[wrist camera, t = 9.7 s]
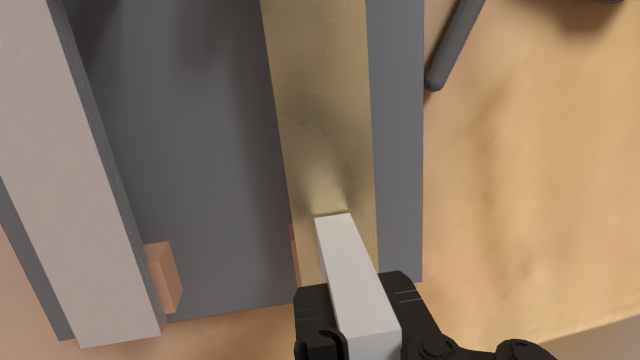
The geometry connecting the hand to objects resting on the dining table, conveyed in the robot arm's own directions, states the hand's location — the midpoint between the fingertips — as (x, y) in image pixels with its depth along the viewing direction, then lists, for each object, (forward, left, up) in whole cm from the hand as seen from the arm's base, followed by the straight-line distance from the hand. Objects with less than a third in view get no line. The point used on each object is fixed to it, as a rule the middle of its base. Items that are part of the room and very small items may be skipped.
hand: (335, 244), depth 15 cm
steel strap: (-4, -10, -2) cm, 11 cm away
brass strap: (-4, 0, -2) cm, 5 cm away
